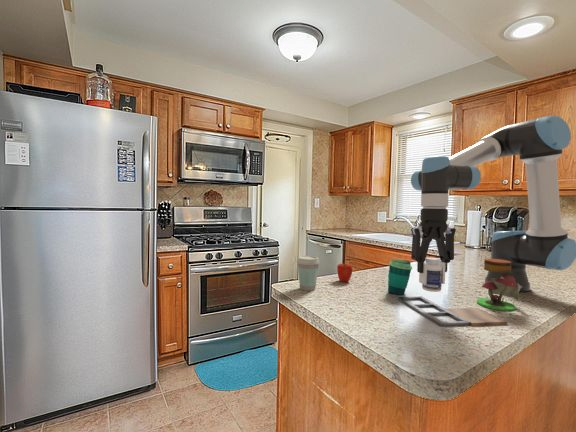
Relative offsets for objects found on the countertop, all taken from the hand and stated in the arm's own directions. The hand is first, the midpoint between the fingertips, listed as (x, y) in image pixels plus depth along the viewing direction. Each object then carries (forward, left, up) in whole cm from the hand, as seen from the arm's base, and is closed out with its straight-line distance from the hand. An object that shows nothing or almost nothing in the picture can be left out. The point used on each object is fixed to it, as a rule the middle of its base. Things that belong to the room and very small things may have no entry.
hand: (431, 282), depth 93 cm
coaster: (-10, +7, -9) cm, 15 cm away
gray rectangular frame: (0, 0, -9) cm, 9 cm away
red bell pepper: (+15, -36, -9) cm, 41 cm away
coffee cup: (+33, -26, -9) cm, 44 cm away
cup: (0, -18, -9) cm, 20 cm away
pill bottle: (0, 0, -2) cm, 2 cm away
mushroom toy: (-26, -2, -9) cm, 27 cm away
